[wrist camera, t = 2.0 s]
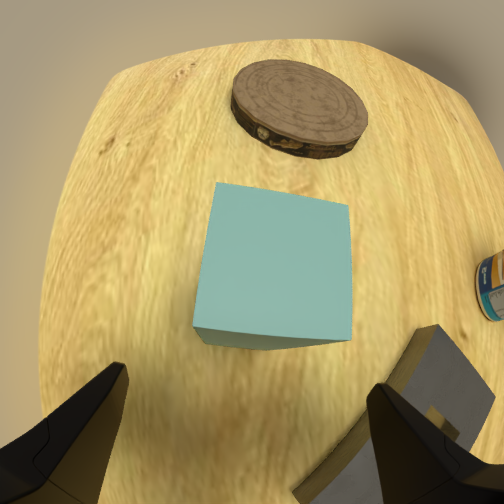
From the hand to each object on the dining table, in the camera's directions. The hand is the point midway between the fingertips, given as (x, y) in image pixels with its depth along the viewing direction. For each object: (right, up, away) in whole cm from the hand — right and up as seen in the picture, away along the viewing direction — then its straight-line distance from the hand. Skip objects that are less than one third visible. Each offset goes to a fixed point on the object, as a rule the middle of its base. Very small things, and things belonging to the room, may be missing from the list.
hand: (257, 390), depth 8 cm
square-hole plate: (+14, -13, +9) cm, 21 cm away
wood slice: (+5, +21, +21) cm, 31 cm away
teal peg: (-1, 0, +11) cm, 11 cm away
